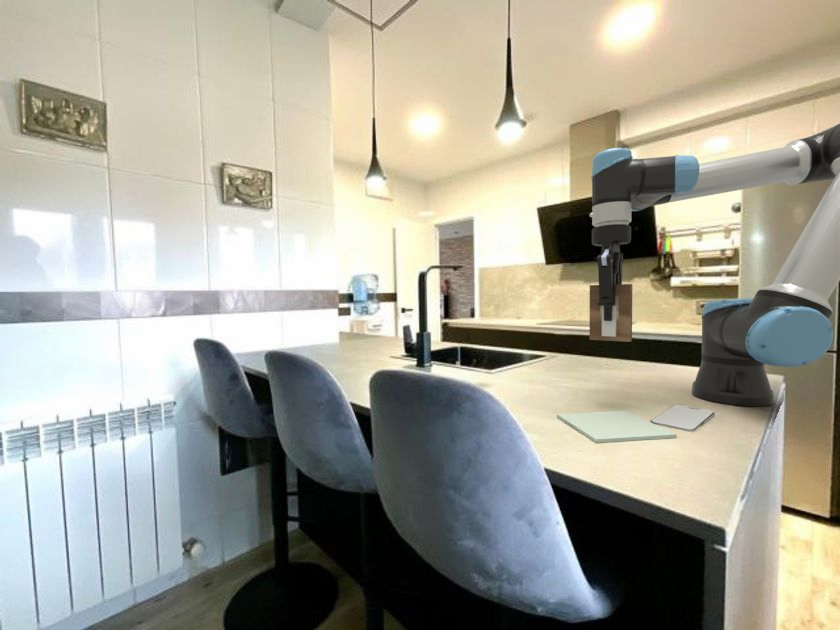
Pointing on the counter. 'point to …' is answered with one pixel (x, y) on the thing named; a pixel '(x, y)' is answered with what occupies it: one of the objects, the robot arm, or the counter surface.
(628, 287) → the board
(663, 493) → the counter surface
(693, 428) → the smartphone
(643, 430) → the mat
